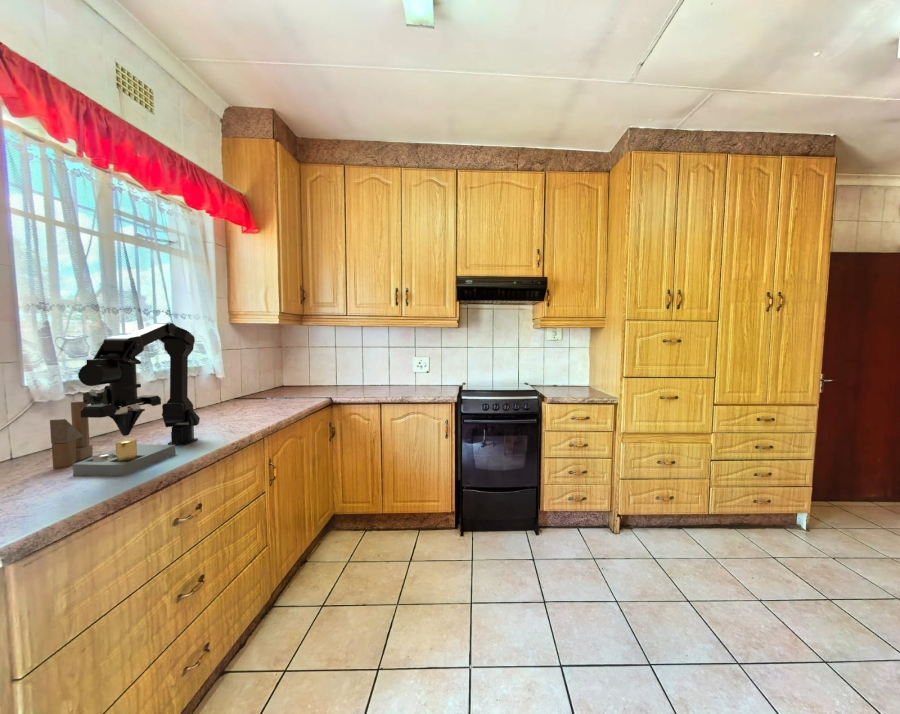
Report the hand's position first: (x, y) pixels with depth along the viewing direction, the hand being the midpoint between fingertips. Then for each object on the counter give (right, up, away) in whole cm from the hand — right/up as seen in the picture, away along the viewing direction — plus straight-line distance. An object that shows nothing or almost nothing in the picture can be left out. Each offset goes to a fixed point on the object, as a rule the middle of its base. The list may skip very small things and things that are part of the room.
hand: (125, 435), depth 101 cm
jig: (-3, -10, +5) cm, 11 cm away
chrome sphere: (-7, -10, +1) cm, 12 cm away
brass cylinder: (0, -10, +1) cm, 10 cm away
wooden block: (-21, -10, +6) cm, 24 cm away
